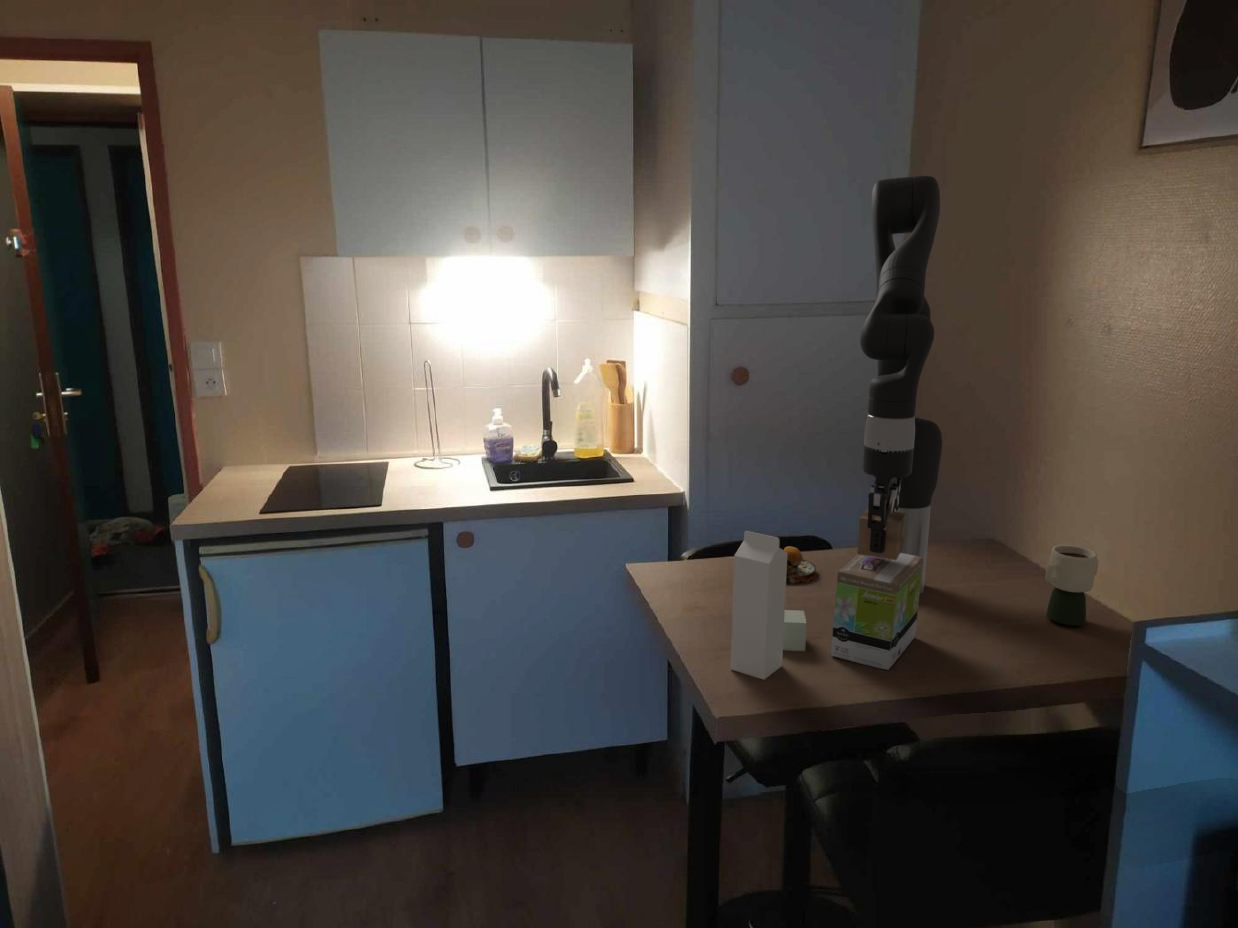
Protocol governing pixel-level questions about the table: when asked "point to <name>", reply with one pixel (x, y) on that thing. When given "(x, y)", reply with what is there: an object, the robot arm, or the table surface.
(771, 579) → the milk
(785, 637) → the sage block
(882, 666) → the tea box
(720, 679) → the table surface
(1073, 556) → the character mug
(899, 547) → the walnut cube
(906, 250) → the robot arm
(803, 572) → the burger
